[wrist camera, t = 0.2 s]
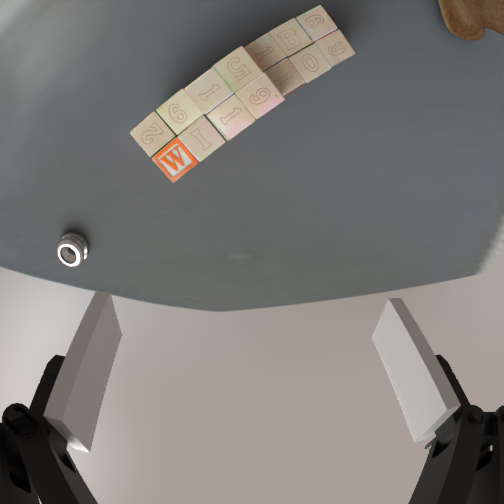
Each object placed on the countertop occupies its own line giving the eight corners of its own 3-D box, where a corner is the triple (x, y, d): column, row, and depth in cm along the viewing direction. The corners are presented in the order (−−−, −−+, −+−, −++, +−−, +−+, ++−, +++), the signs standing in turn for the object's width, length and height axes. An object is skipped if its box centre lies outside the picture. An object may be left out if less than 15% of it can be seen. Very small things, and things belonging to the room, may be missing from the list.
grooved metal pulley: (89, 261, 44) (88, 234, 41) (83, 272, 41) (81, 244, 39) (63, 255, 43) (61, 228, 40) (56, 265, 40) (53, 237, 38)
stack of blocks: (301, 20, 28) (331, -4, 18) (329, 60, 31) (371, 53, 21) (158, 117, 34) (127, 133, 23) (189, 153, 37) (171, 184, 26)
